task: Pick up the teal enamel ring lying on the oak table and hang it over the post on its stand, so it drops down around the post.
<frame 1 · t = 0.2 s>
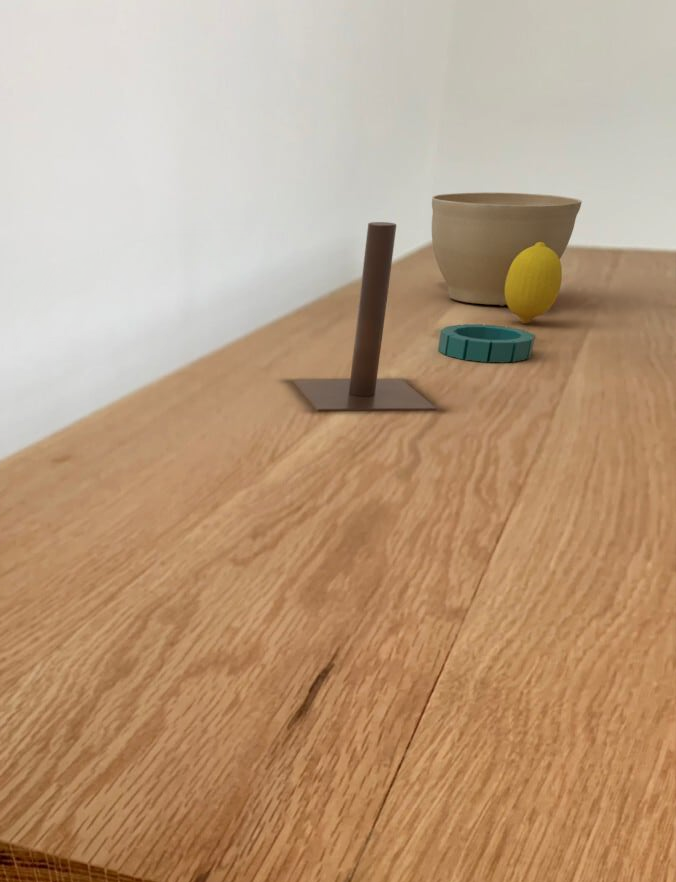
ring: (484, 352, 106), on the table
planter bowl: (488, 301, 130), on the table
lemon: (525, 325, 118), on the table
peg stand: (359, 412, 87), on the table
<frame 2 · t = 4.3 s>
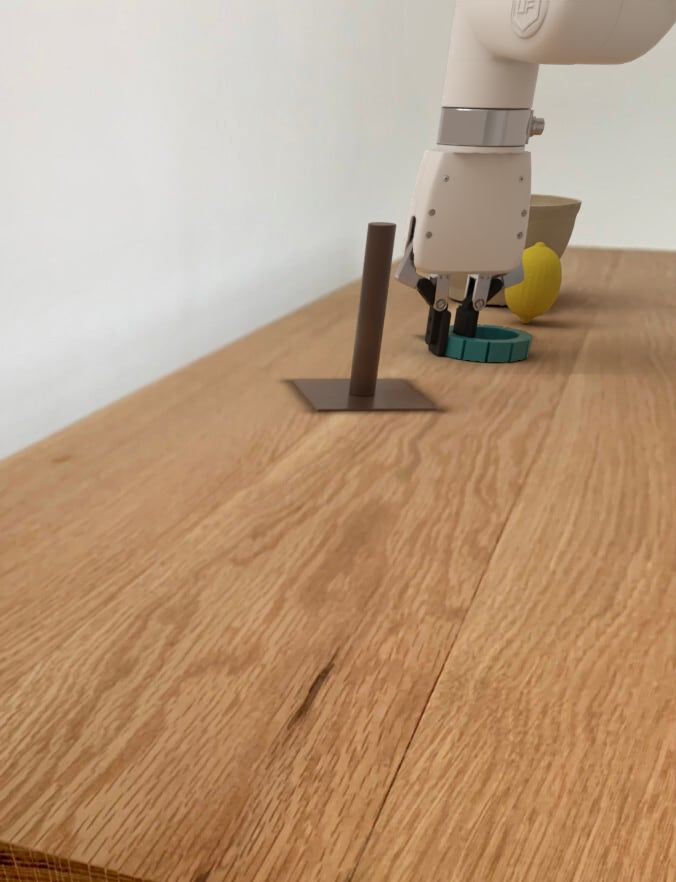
hand: (447, 351, 105), 0 cm above the table, tool pointing down, fingers closed on ring, 1 cm apart
ring: (482, 352, 106), on the table, touching gripper
everything else where it was.
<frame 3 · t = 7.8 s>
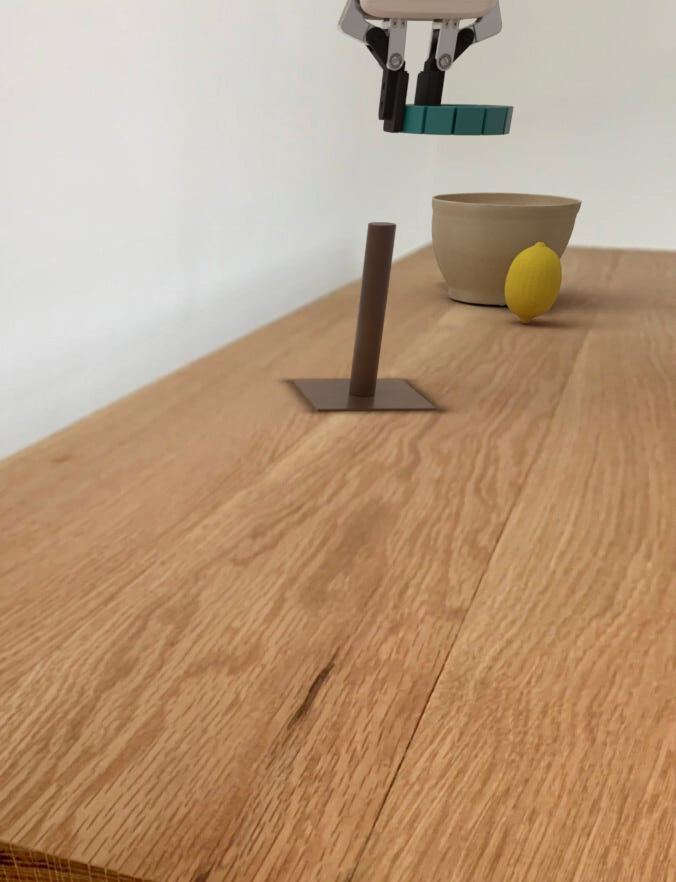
hand: (406, 130, 84), 19 cm above the table, tool pointing down, fingers closed on ring, 1 cm apart
ring: (450, 132, 84), point 19 cm above the table, touching gripper
everything else where it was.
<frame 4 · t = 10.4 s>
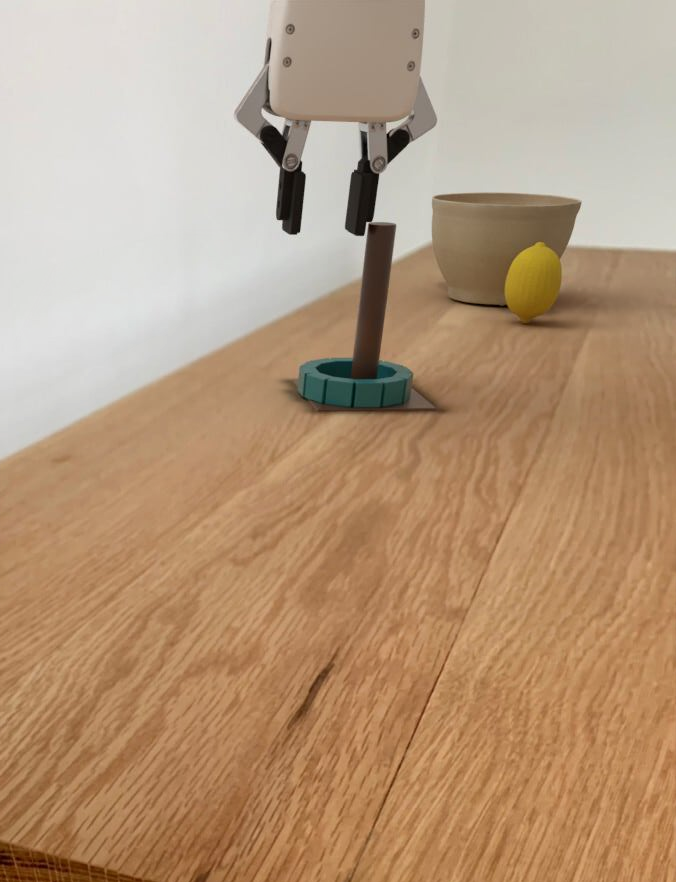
hand: (322, 230, 80), 13 cm above the table, tool pointing down, fingers open, 4 cm apart
ring: (353, 393, 86), point 1 cm above the table, touching peg stand
everything else where it was.
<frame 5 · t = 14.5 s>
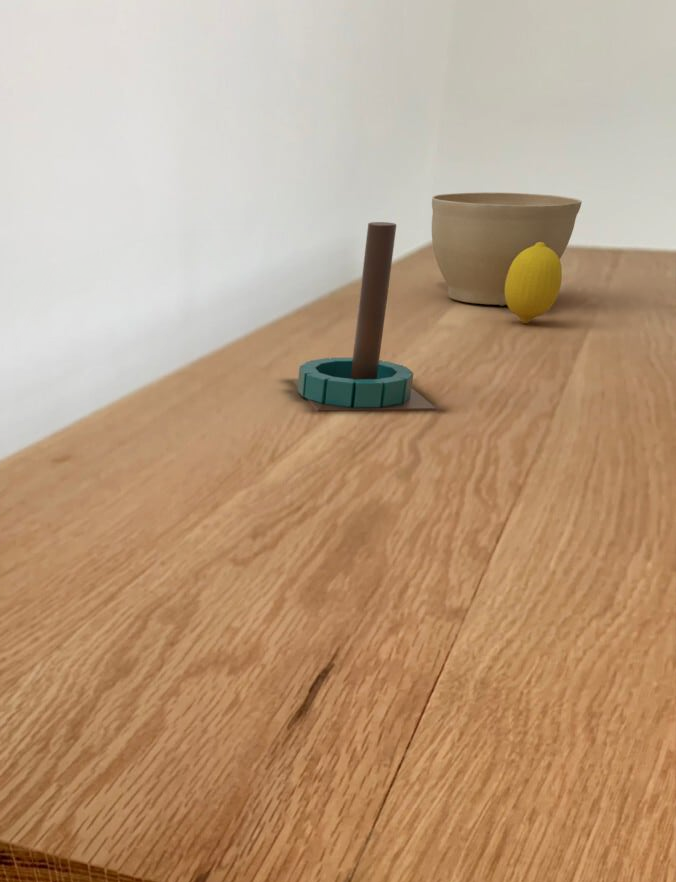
nothing on the table moved.
at the end: ring 0.7 cm off-centre on the peg stand, point 1.5 cm above the peg stand's base; the gripper is holding nothing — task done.
